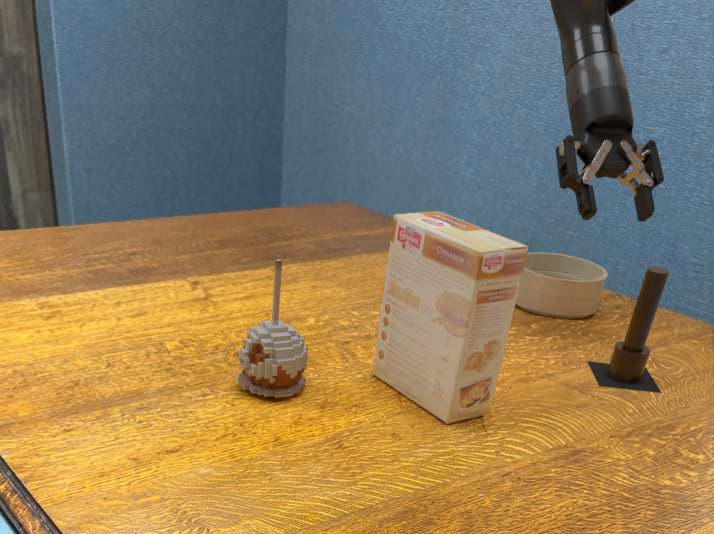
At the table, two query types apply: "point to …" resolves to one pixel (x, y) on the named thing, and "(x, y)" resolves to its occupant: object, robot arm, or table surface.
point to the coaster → (606, 381)
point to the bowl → (560, 285)
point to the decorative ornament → (273, 354)
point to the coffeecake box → (446, 312)
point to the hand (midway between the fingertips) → (618, 217)
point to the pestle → (638, 330)
